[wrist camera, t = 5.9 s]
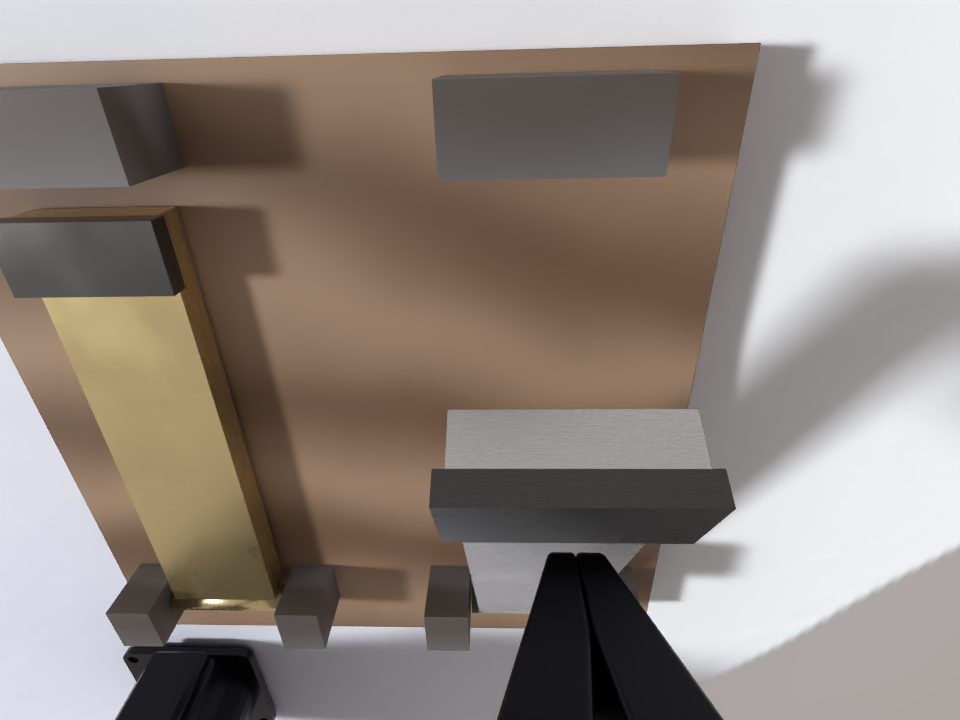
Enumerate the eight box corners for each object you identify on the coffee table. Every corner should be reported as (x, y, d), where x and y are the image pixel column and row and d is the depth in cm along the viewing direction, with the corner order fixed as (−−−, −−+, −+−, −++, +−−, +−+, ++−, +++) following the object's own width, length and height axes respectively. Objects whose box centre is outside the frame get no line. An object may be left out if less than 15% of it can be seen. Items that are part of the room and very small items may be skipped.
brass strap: (296, 595, 22) (282, 630, 21) (188, 594, 23) (167, 629, 21) (187, 206, 15) (154, 221, 13) (24, 208, 15) (-25, 224, 14)
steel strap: (585, 589, 22) (589, 632, 21) (473, 588, 22) (472, 631, 21) (718, 408, 9) (743, 509, 8) (429, 410, 9) (421, 508, 8)
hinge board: (635, 599, 25) (658, 688, 21) (167, 594, 26) (114, 680, 22) (736, 43, 14) (815, 40, 10) (-83, 66, 15) (-263, 70, 11)
